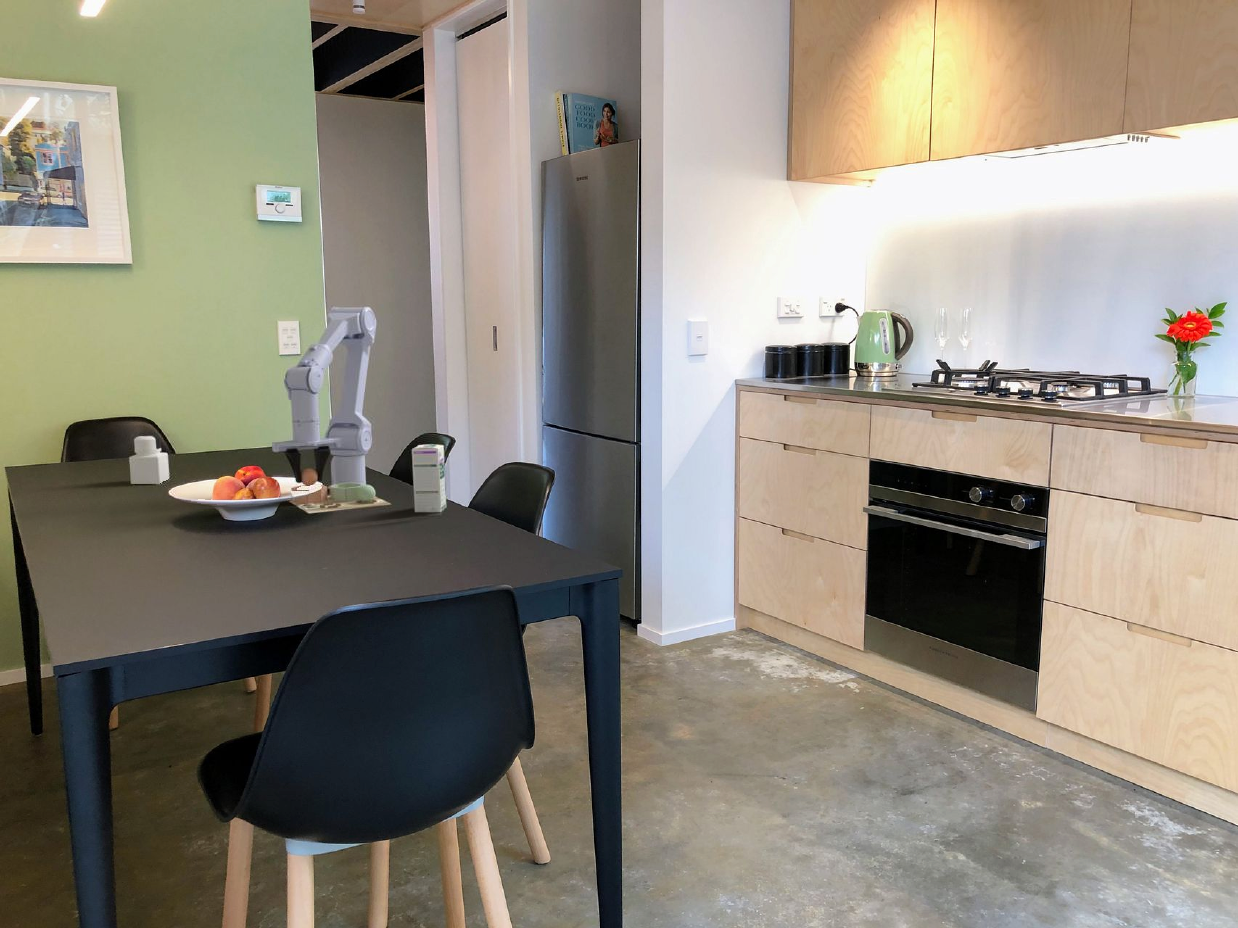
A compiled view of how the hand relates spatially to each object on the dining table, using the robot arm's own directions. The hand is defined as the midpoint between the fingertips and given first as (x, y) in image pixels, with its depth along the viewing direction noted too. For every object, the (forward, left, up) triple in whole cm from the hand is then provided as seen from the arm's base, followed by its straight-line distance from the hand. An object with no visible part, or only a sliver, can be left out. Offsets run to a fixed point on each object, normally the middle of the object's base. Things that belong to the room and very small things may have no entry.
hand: (308, 481), depth 216 cm
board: (+5, +5, -5) cm, 9 cm away
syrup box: (+24, +19, -5) cm, 31 cm away
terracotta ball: (0, 0, -1) cm, 1 cm away
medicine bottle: (-52, -26, -5) cm, 58 cm away
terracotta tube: (0, 0, -5) cm, 5 cm away
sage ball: (+9, +10, -4) cm, 14 cm away
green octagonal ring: (+2, +8, -5) cm, 10 cm away
